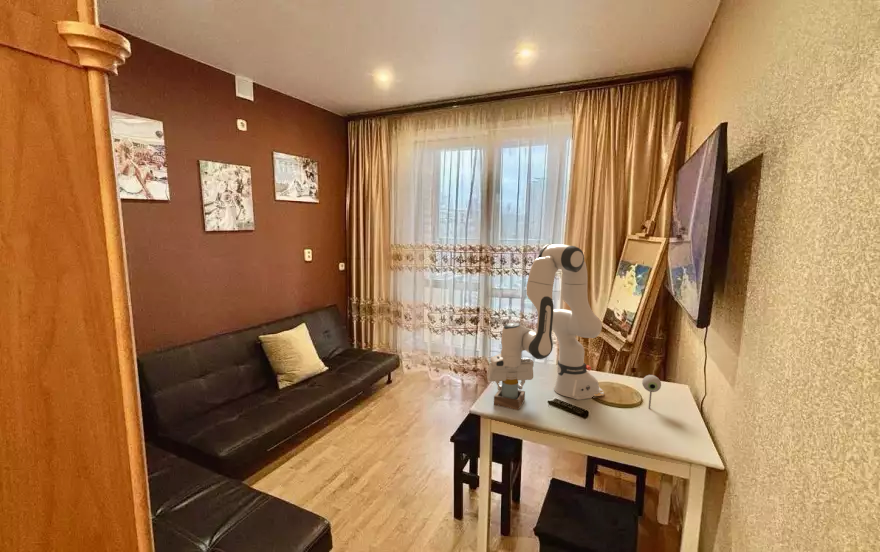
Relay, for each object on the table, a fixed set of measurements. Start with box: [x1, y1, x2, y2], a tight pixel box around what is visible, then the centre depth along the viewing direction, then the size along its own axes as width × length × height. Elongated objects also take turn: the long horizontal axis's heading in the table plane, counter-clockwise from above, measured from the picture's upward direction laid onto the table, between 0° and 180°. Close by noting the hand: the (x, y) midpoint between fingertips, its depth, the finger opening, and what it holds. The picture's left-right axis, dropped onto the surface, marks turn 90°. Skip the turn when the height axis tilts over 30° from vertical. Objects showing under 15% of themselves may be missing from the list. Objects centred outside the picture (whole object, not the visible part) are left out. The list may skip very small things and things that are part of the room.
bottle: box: [501, 372, 519, 400], centre depth 169 cm, size 7×7×15 cm
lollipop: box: [641, 374, 662, 410], centre depth 164 cm, size 7×7×15 cm
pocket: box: [493, 389, 526, 411], centre depth 170 cm, size 11×11×4 cm
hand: (509, 389), depth 169 cm, fingers open, 8 cm apart
